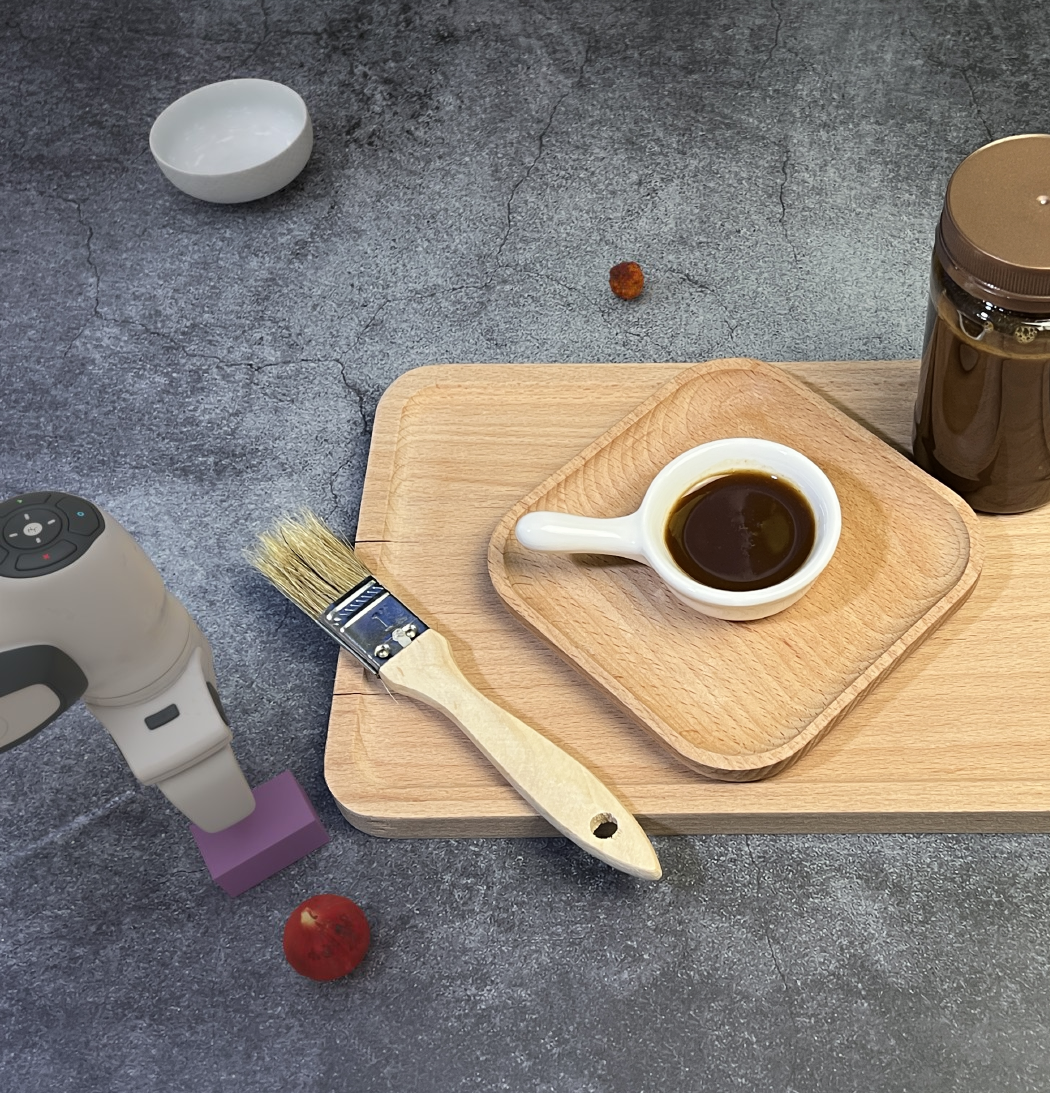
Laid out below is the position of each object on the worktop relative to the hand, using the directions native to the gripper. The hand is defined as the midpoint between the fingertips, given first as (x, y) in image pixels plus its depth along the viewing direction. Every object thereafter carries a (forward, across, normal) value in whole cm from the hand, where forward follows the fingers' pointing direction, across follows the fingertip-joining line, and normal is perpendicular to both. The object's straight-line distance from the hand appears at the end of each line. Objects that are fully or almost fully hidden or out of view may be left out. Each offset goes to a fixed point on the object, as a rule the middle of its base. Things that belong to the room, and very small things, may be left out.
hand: (212, 750), depth 101 cm
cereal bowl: (+3, -67, +28) cm, 73 cm away
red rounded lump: (+3, +19, +2) cm, 20 cm away
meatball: (+2, -26, +53) cm, 59 cm away
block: (+2, +8, +1) cm, 9 cm away
